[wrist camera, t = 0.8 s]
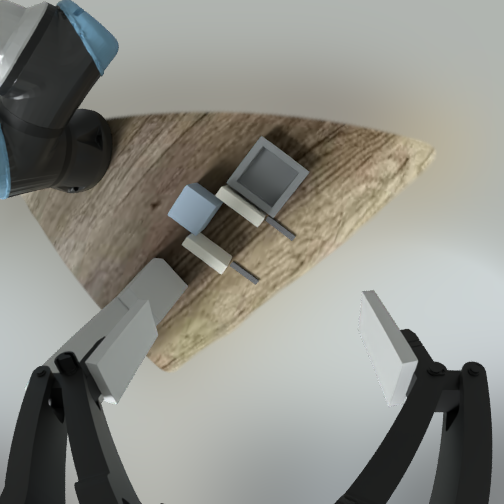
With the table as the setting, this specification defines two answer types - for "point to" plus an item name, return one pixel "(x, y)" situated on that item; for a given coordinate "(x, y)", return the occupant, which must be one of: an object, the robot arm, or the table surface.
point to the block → (195, 208)
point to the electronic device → (127, 307)
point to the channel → (208, 248)
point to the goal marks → (279, 228)
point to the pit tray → (267, 176)
